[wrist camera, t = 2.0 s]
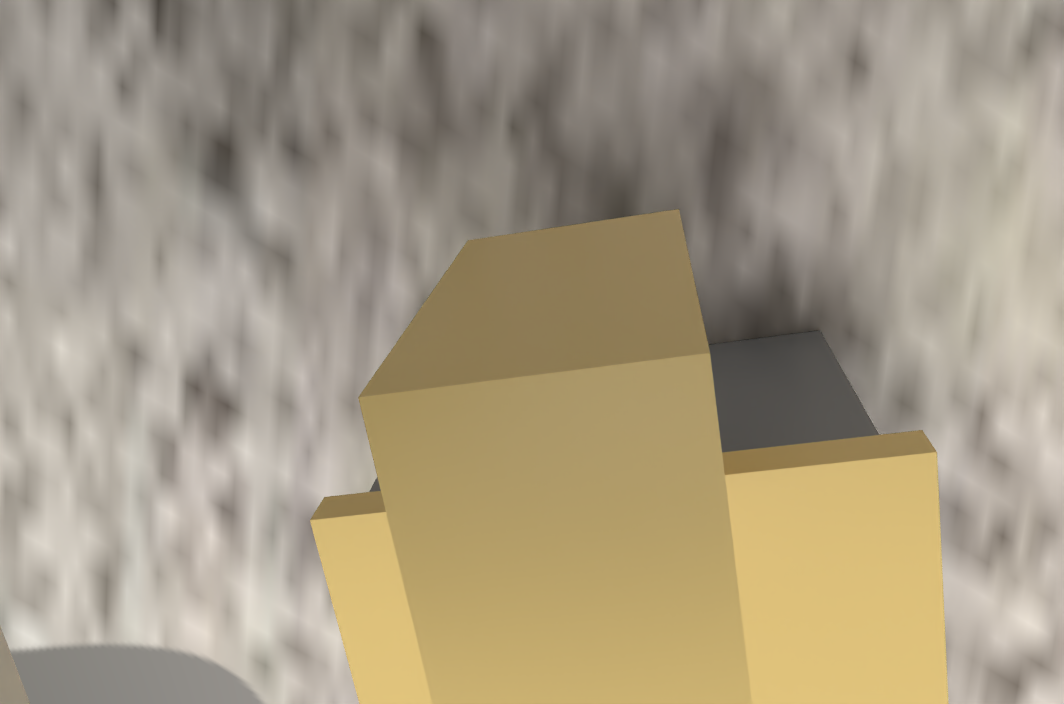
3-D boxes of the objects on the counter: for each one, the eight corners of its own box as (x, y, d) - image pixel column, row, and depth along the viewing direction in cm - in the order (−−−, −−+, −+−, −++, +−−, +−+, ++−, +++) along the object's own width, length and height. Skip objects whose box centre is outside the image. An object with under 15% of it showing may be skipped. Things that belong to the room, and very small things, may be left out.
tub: (429, 380, 29) (356, 515, 21) (819, 330, 27) (891, 456, 20) (519, 794, 33) (485, 1025, 26) (856, 772, 32) (925, 1011, 24)
